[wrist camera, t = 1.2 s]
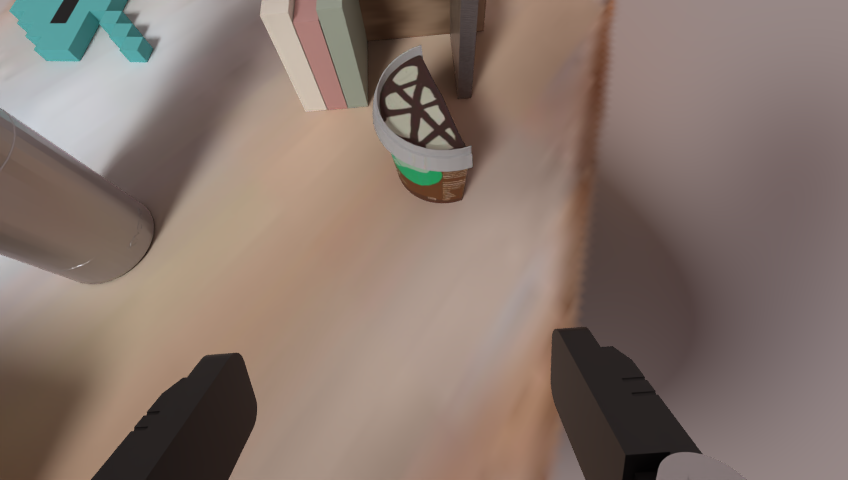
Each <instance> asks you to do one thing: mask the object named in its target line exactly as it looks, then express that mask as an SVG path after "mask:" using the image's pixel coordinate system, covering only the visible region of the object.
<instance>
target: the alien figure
mask: <svg viewBox="0 0 848 480" xmlns="http://www.w3.org/2000/svg"><path fill="white" fill-rule="evenodd" d="M127 1H128V0H16V1H15V3H14V4H13V6H12V8H11V9H10V12H11V13H12V14H13V15H14V16H15V17H16V18H18V19H19V21H18V23H17V24H18V25H20V26H21V27H22V28H23V29H24V30H25V31H26V32H27V34H26V37H27V38H28V39H29V40H30V41H31V42H32V43H34V44H35V45H36V47H35V49H34V50H35V51H36V52H37V53H38V54H39V55H41V56H42V57H43V58H44V59H45V60H46V61H80V60H81V58H82V56H83V55H84V53H85V51H86V49H87V47H88V45H89V43H90V41H91V39H92V38H93V36H94V34H95V32H96V30H97V28H98V26H99V24H100V25H101V26H102V27H103V28H104V30H105V31H106V32H107V33H108V34H109V35H110V36H109V37H110V38H111V39H112V40H113V42H114V43H115V44H116V45H117V46H118V47H119V48H120V51H121V52H122V54H123V55H124V56H125V57H126V58H127V59H128V60H129V61H130V62H148V59H149V57H150V55H151V53H152V50H153V48H152V47H151V45H150V44H149V43H148V42H147V41H146V39H145V38H144V37H142V34H141V33H140V32H139V31H138V30H137V28H136V27H135V26H134V25H133V24H132V22H131V21H130V20H129V19H128V17H127V16H126V15H125V14H124V13H123V9H124V7H125V5H126V3H127Z"/></svg>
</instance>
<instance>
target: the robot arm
mask: <svg viewBox="0 0 848 480" xmlns="http://www.w3.org/2000/svg"><path fill="white" fill-rule="evenodd" d="M153 233H154V222H153V218H152V215H151V213H150V211H149V210H148V209H147V208H146V207H145V206H144V205H143V204H141V203H140V202H138V201H137V200H135V199H134V198H133V197H131V196H130V195H128V194H127V193H125V192H124V191H122V190H121V189H119V188H118V187H116V186H115V185H114V184H112V183H111V182H109V181H108V180H106V179H105V178H104V177H102V176H101V175H99V174H98V173H96V172H95V171H93V170H92V169H90V168H89V167H87V166H86V165H84V164H83V163H81V162H80V161H78V160H77V159H75V158H74V157H72V156H71V155H69V154H68V153H66V152H65V151H63V150H62V149H61V148H59V147H58V146H56V145H55V144H53V143H52V142H50V141H49V140H47V139H46V138H44V137H43V136H41V135H40V134H38V133H37V132H35V131H34V130H32V129H31V128H29V127H28V126H26V125H25V124H23V123H22V122H20V121H19V120H18V119H16V118H15V117H13V116H12V115H10V114H9V113H7V112H6V111H4V110H2V109H1V108H0V254H1V255H4V256H6V257H9V258H12V259H15V260H18V261H21V262H24V263H27V264H29V265H32V266H35V267H38V268H40V269H43V270H46V271H49V272H52V273H55V274H58V275H61V276H63V277H66V278H69V279H72V280H75V281H78V282H81V283H87V284H99V283H104V282H108V281H111V280H113V279H116V278H118V277H120V276H122V275H123V274H125V273H126V272H128V271H129V270H131V269H132V268H133V267H134V266H135V265H136V264H137V263H138V262H139V261H140V260H141V258H142V257H143V256H144V255H145V253H146V251H147V250H148V248H149V246H150V244H151V241H152V238H153ZM551 389H552V395H553V399H554V403H555V406H556V409H557V411H558V414H559V416H560V418H561V421H562V423H563V426H564V428H565V431H566V433H567V436H568V438H569V440H570V443H571V445H572V448H573V450H574V453H575V455H576V458H577V460H578V462H579V465H580V467H581V470H582V472H583V475H584V477H585V479H586V480H746V479H745V478H744V477H743V476H742V475H741V474H740V473H738V472H737V471H736V470H734V469H733V468H731V467H730V466H728V465H726V464H724V463H723V462H721V461H719V460H716V459H714V458H712V457H709V456H706V455H703V454H702V453H701V451H700V450H699V449H698V448H697V446H696V445H695V443H694V442H693V441H692V439H691V438H690V437H689V436H688V434H687V433H686V432H685V430H684V429H683V427H682V426H681V425H680V423H679V422H678V421H677V420H676V418H675V417H674V415H673V414H672V413H671V411H670V410H669V409H668V407H667V406H666V405H665V403H664V402H663V401H662V399H661V398H660V397H659V395H656V393H655V390H654V389H653V387H652V386H651V385H650V383H649V382H648V381H647V380H645V377H644V376H643V374H642V373H641V371H640V370H639V369H638V367H637V366H636V365H635V363H634V362H633V361H632V360H631V359H630V358H629V357H627V356H626V355H624V354H623V353H621V352H620V351H618V350H617V349H616V348H614V347H613V346H610V347H600V345H599V344H598V342H597V341H596V339H595V338H594V336H593V335H592V334H591V332H590V331H589V329H588V328H587V327H576V328H563V329H554V331H553V334H552V356H551ZM256 416H257V402H256V398H255V395H254V392H253V388H252V385H251V382H250V379H249V375H248V372H247V369H246V366H245V362H244V360H243V357H242V356H241V355H240V354H239V353H228V354H215V355H206V356H204V357H203V358H202V359H201V360H200V362H199V363H198V364H197V365H196V367H195V368H194V369H193V371H192V372H191V373H190V374H189V376H188V377H187V378H182V379H181V380H180V381H178V382H177V383H176V384H174V385H173V386H172V387H170V388H169V389H168V390H166V391H165V392H164V393H162V394H161V396H160V397H159V398H158V399H157V401H156V402H155V403H154V404H153V405H152V407H151V408H150V409H149V410H148V411H147V415H146V416H143V417H142V419H141V420H140V421H139V422H138V423H137V425H136V426H135V427H134V431H131V432H130V433H129V434H128V436H127V437H126V438H125V439H124V440H123V442H122V443H121V444H120V445H119V446H118V448H117V449H116V450H115V451H114V453H113V454H112V455H111V456H110V457H109V459H108V460H107V461H106V462H105V463H104V465H103V466H102V467H101V468H100V469H99V471H98V472H97V473H96V474H95V476H94V477H93V478H92V479H91V480H228V479H229V477H230V475H231V473H232V471H233V469H234V467H235V465H236V462H237V460H238V458H239V456H240V454H241V452H242V450H243V448H244V446H245V444H246V442H247V440H248V438H249V436H250V434H251V432H252V429H253V427H254V425H255V421H256Z"/></svg>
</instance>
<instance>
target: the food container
mask: <svg viewBox="0 0 848 480" xmlns="http://www.w3.org/2000/svg"><path fill="white" fill-rule="evenodd" d="M373 124H374V127H375V131H376V133H377V135H378V137H379V139H380V141H381V142H382V144H383V145H384V146H385V148H386V149H387V150H388V151H389V152H390V153H391V154H392V157H393V160H394V163H395V166H396V169H397V171H398V174H399V177H400V179H401V181H402V183H403V185H404V186H405V187H406V189H407V190H409V191H410V192H411V193H412V194H413V195H415V196H416V197H418V198H421V199H423V200H426V201H429V202H434V203H451V202H456V201H460V200H462V198H463V193H464V187H465V182H466V177H467V171H468V168H472V167H473V164H472V153H471V146H468V147H466V146H465V143H464V142H463V141H462V139H461V137H460V135H459V133H458V130H457V128H456V126H455V124H454V122H453V120H452V117H451V115H450V113H449V111H448V108H447V106H446V104H445V101H444V99H443V97H442V95H441V93H440V92H439V90H438V88H437V86H436V84H435V83H434V81H433V79H432V77H431V75H430V73H429V71H428V69H427V67H426V65H425V63H424V61H423V56H422V47H421V45H419V46H417V47H414V48H412V49H410V50H408V51H406V52H404V53H402V54H401V55H400V56H398V57H397V58H395V59H394V60H393V61H392V62H391V63H390V64H389V65H388V67H387V68H386V69H385V70H384V72H383V74H382V75H381V77H380V79H379V82H378V84H377V87H376V90H375V93H374V101H373Z"/></svg>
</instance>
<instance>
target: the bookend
mask: <svg viewBox="0 0 848 480" xmlns="http://www.w3.org/2000/svg"><path fill="white" fill-rule="evenodd" d="M478 3H479V0H450V37H451V46H452V54H453V63H454V71H455V79H456V88H457V96H458V99H459V98H471V96H472V82H473V69H474V56H475V42H476V29H477V16H478Z"/></svg>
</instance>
